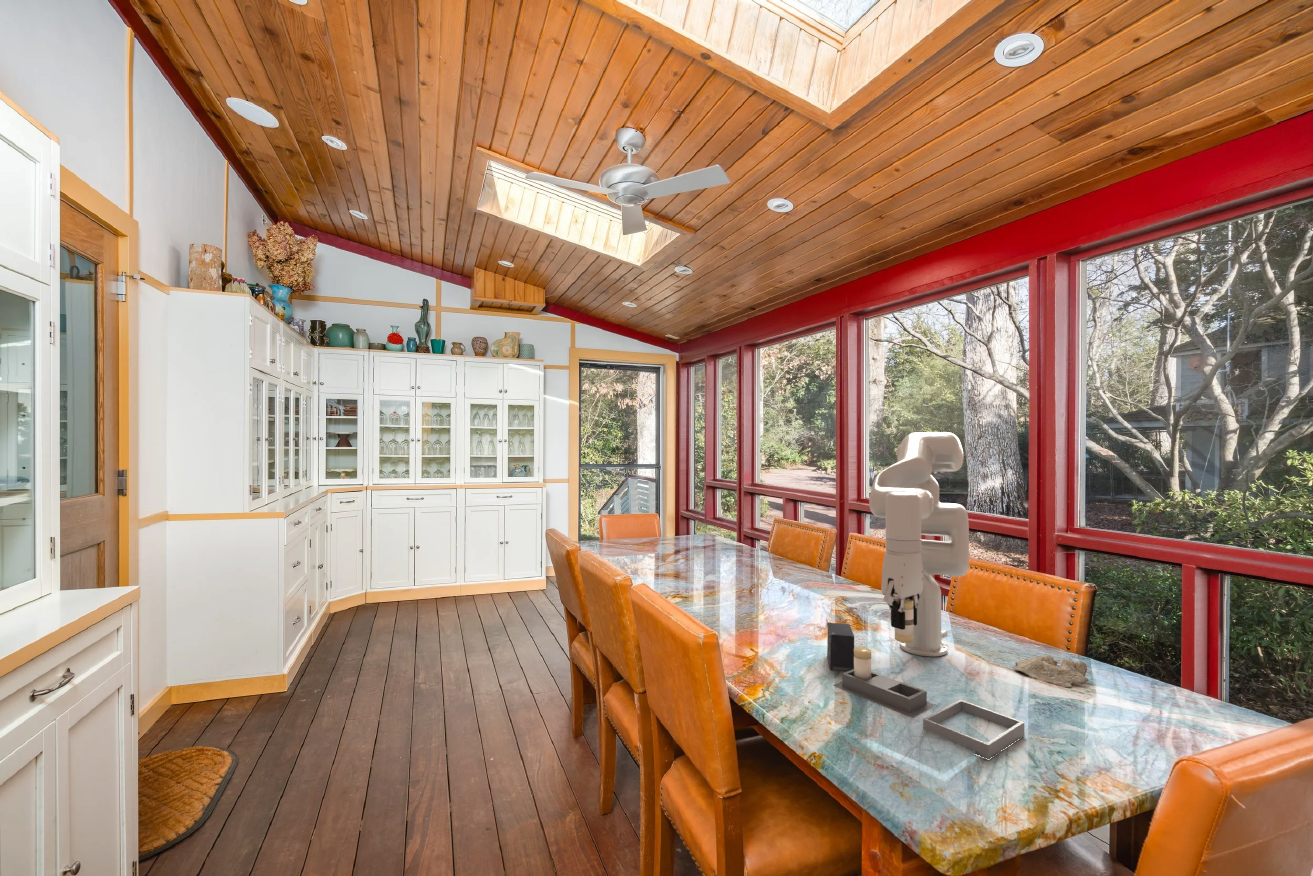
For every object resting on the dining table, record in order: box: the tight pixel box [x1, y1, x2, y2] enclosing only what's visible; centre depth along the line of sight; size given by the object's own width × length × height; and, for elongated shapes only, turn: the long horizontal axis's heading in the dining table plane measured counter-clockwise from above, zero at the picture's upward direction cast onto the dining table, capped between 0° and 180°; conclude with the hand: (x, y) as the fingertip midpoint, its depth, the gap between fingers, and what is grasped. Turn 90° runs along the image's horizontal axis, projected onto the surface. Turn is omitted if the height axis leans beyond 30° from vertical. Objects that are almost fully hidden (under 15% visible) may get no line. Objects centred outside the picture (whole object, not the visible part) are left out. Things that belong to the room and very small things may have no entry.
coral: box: [1012, 654, 1089, 689], centre depth 155 cm, size 18×16×5 cm
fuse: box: [854, 646, 872, 681], centre depth 145 cm, size 4×4×9 cm
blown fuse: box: [894, 598, 914, 643], centre depth 136 cm, size 4×4×9 cm
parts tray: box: [922, 699, 1025, 759], centre depth 124 cm, size 15×13×3 cm
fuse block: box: [832, 669, 938, 719], centre depth 141 cm, size 10×21×4 cm, turn 36°
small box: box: [826, 621, 855, 672], centre depth 160 cm, size 11×6×10 cm, turn 168°
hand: (904, 625), depth 136 cm, fingers closed on blown fuse, 4 cm apart
